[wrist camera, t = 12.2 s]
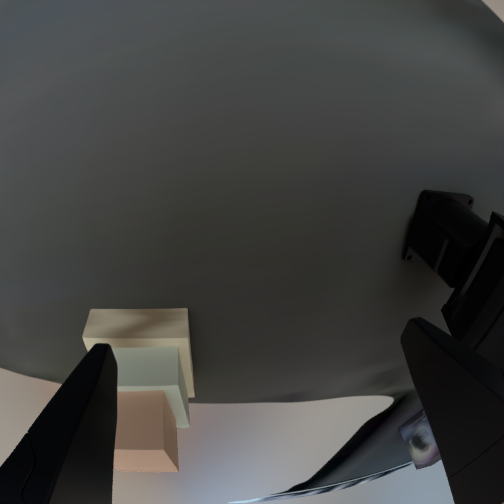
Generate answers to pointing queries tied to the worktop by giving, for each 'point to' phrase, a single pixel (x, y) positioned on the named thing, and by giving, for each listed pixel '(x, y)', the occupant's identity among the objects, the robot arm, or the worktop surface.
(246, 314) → the worktop surface
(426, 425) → the small box
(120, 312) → the tower base
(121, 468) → the terracotta cube
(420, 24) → the worktop surface
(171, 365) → the tower top
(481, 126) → the worktop surface
